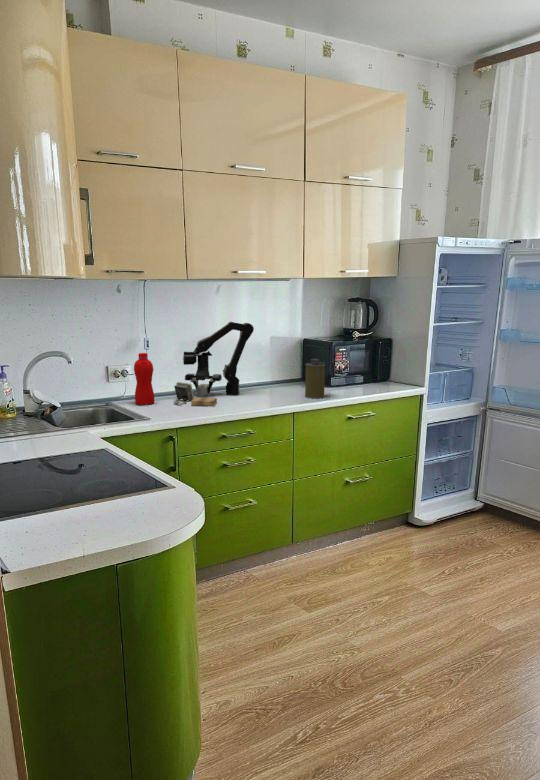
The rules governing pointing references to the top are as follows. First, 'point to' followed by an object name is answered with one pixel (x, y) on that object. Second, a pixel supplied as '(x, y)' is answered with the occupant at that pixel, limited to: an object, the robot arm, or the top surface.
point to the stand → (203, 401)
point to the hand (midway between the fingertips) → (203, 393)
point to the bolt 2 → (181, 402)
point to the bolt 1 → (177, 403)
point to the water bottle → (144, 380)
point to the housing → (202, 390)
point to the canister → (315, 379)
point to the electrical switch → (184, 391)
